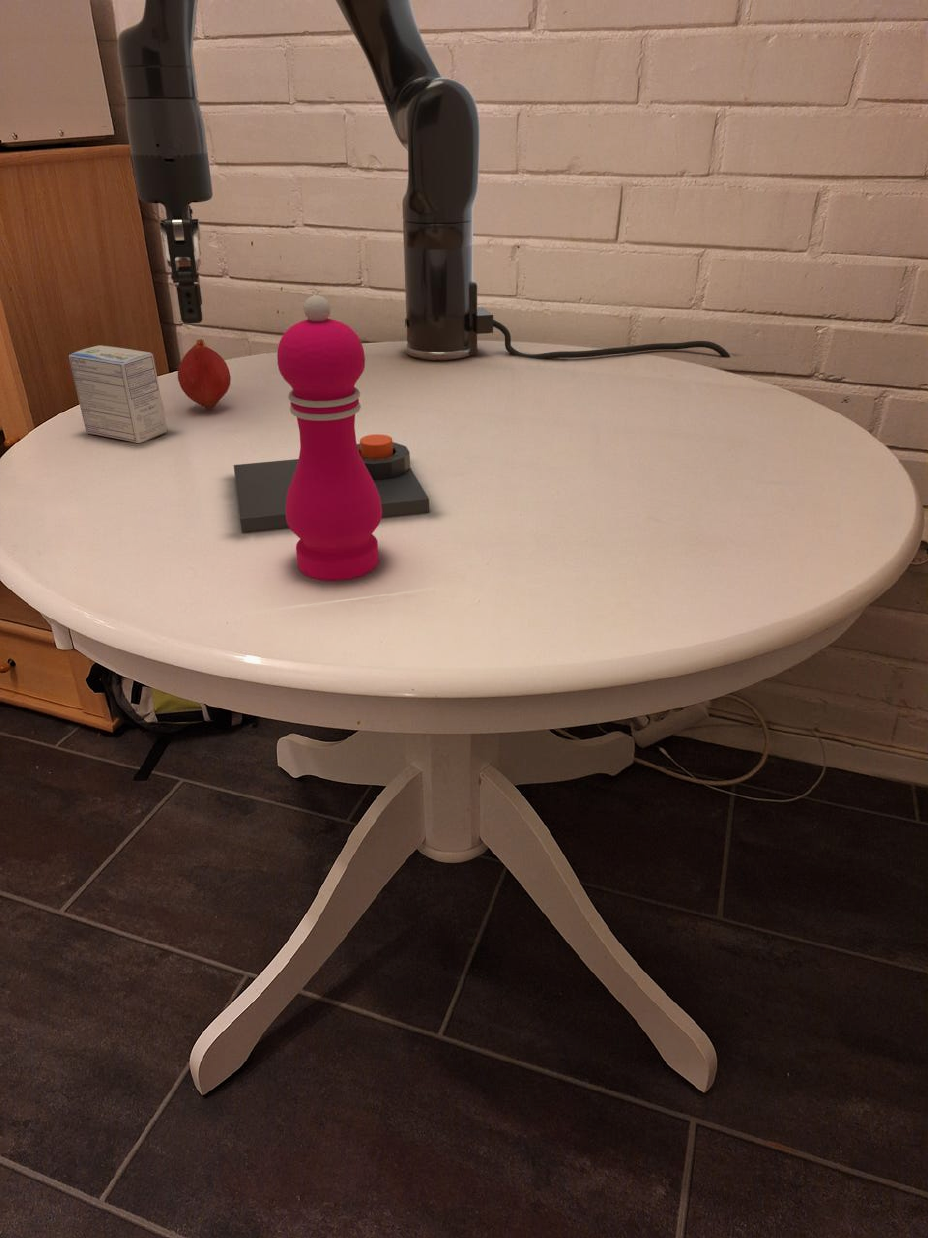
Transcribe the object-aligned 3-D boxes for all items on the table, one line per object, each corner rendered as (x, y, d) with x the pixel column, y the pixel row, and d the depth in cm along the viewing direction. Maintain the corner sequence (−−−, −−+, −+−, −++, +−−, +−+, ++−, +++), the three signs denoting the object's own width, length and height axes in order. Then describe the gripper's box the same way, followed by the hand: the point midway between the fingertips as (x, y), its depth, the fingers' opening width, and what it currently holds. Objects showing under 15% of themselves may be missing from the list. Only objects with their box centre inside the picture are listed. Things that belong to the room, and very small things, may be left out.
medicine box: (169, 433, 98) (155, 351, 94) (138, 445, 95) (122, 361, 90) (116, 422, 101) (100, 343, 97) (84, 434, 98) (66, 352, 94)
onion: (172, 412, 105) (160, 341, 101) (206, 398, 109) (196, 330, 105) (211, 419, 102) (200, 347, 98) (244, 405, 107) (235, 335, 103)
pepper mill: (301, 542, 74) (273, 285, 64) (389, 543, 74) (376, 285, 64) (283, 584, 68) (249, 306, 58) (379, 585, 68) (362, 306, 57)
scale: (400, 462, 90) (399, 433, 88) (429, 513, 79) (428, 481, 77) (235, 478, 86) (231, 448, 85) (242, 534, 75) (237, 500, 74)
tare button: (389, 448, 86) (389, 432, 85) (395, 459, 83) (395, 443, 82) (358, 451, 85) (357, 435, 84) (363, 462, 83) (362, 446, 82)
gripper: (134, 146, 97) (159, 303, 106) (125, 153, 86) (154, 330, 94) (206, 145, 99) (225, 300, 107) (207, 153, 87) (229, 326, 95)
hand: (192, 314), depth 100 cm, fingers open, 8 cm apart
